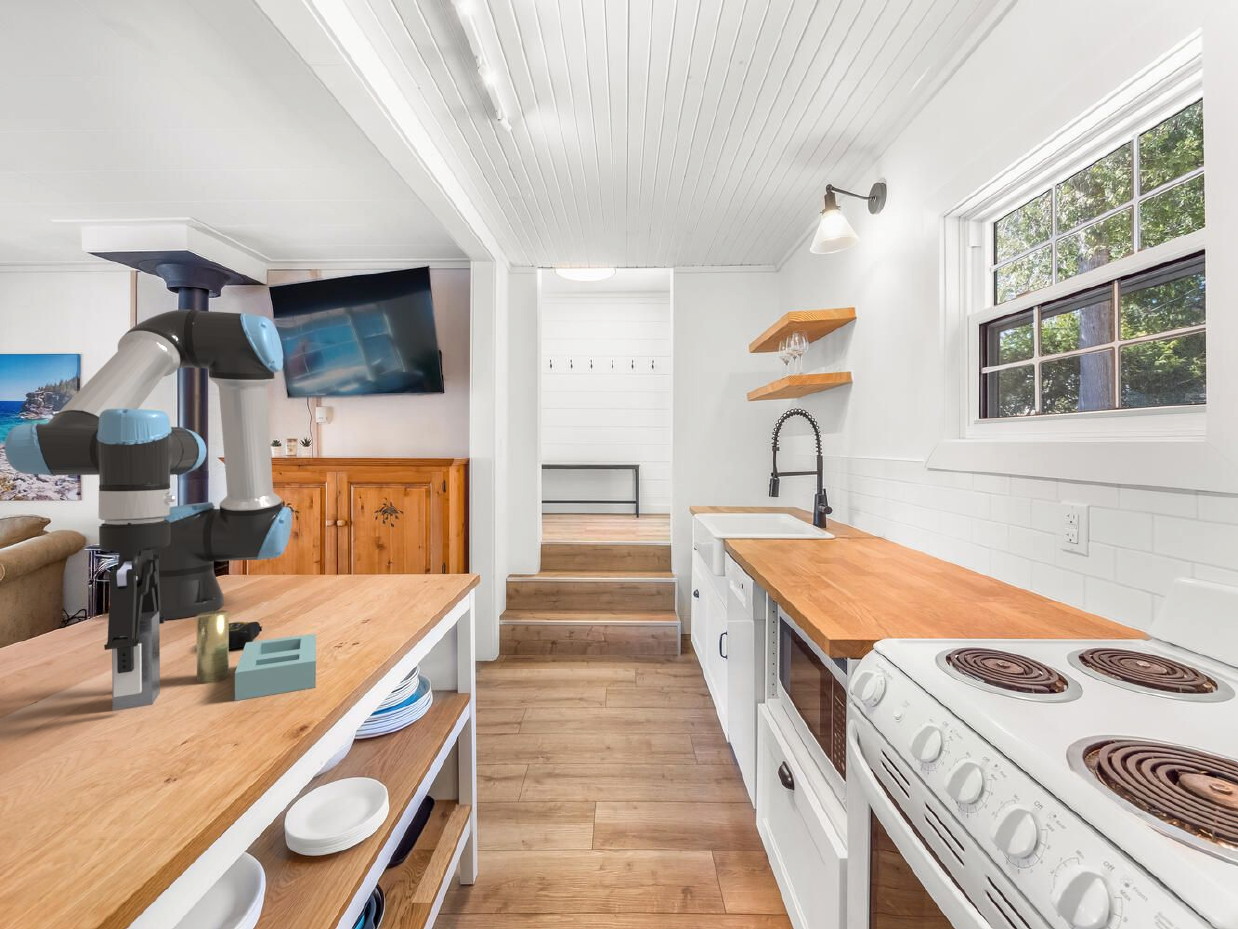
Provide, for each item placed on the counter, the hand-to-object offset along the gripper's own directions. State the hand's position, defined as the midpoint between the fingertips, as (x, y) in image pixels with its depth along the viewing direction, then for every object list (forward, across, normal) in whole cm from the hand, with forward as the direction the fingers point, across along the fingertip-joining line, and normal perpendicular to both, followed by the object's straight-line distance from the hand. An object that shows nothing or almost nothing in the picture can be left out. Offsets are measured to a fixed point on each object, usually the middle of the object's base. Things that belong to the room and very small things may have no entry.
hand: (137, 682), depth 78 cm
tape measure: (+3, +21, -10) cm, 23 cm away
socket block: (+3, +1, -17) cm, 17 cm away
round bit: (+3, +5, -8) cm, 10 cm away
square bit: (+3, 0, 0) cm, 3 cm away
